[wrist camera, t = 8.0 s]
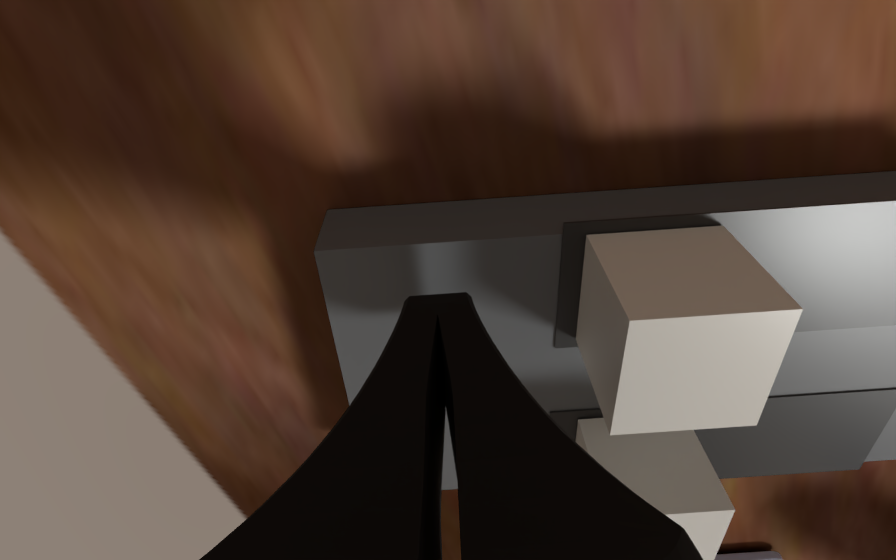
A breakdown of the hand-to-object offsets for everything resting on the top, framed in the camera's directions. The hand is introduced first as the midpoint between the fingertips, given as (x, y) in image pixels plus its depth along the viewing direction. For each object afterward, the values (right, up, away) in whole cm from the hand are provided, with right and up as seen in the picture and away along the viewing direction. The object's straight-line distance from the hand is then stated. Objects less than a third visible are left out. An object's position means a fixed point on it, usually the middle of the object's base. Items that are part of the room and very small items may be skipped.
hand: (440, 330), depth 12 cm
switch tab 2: (+5, -4, +4) cm, 8 cm away
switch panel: (+7, 0, +4) cm, 8 cm away
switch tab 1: (+5, +1, +1) cm, 5 cm away
